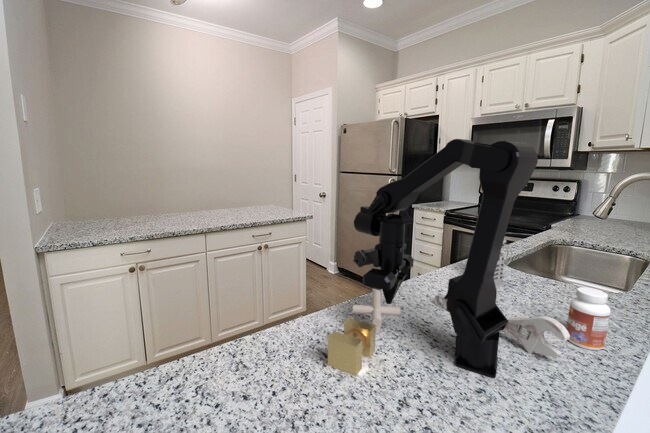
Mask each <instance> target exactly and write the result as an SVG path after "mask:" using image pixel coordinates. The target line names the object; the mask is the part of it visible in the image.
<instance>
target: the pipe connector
mask: <svg viewBox="0 0 650 433" xmlns="http://www.w3.org/2000/svg"><path fill="white" fill-rule="evenodd" d="M371 288H372V289H371V305H368V304H367V305H365V304H364V305H363V304H352V314H354V315H355V314H356V315H371V324H373V325H376V334H375V335H379V334H381V326H382V316H394V317H395V316H396V317H401V306H390V305H389V306H384V305H382V304H381V301H382V297H381V295H382V294H381V293H382V289H379V288H375V287H371Z"/></svg>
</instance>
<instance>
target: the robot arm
mask: <svg viewBox="0 0 650 433" xmlns="http://www.w3.org/2000/svg"><path fill="white" fill-rule="evenodd" d="M538 162H539V156H538V152H536V150H535V148H534V147H533V146H531V145H530V144H529V143H524V142H518V141H507V140H502V141H501V140H499V141H495V142H494V143H491V144H488V143H484V142H483V143H482V142H475V141H473V140H470V139H463V138H455V139H451V140H450V141H448V142H447V143H446V144H445V146H444V147H442V149H440V150H439V151H438V152H436V153H434V155H433V156H431V157H430V158H428V159H427V160H425V161H424V162H423V163H422V164H421V165H420V164H419V166H418V167H416V168H415V169H414V170H412V171H411V172H409V173H408V174H407V175H406V176H404V177H402V178H401V179H398V180H394V181H391V182H389V183H387V184H385V185H383V186H381V187H379V188H378V190H376V192H375V194H376V196H375V197H374V199H373V200H372V202H371V204H370V205H369V206H367V205H366V206H360V211H359V212H357V213H356V215H355V218H354V220H353V226H354V229H355V231H357V232H358V233H362V234H366V235H370V236H374V237H378V243H377V244H376V245H374V247H372V248H368V249H360V250H357V251H355V252H354V255H353V261H352V262H354V263H355V264H356V266H357V267H358V268H362V267H364V266H369V265H373V267H372V268H371V269H370V270H368V271H367V272H366V273H364V274H363V275H362V285H363V286H366V287H371V288H373V287H375V288H379V289H381V291H382V293H383V296H384V300H385V304H386V305H391V304H392V303H393V301H394V299H395V298H396V295H397V293H398V291H399V289H400V287H401V285H402V284H403V281H404V280H405V277H407V273H406V272H401V271H402V269H403V267H405V266H407V269H409V270H411V269H412V268H413V267H414V260H415V259H414V257H412V255H411V254H405V253H404V251H405V250H406V249H407V243H405V231H406V229H405V228H406V225H407V224H413V223H414V219H413V218H412V217H411V216H410V215H409V214H408V212H406V211H405V210H407V209H409V207H411V206H412V205H413V203H415V202H416V201H417V199H418V197H419V195H420V194H421V193H422V192H423V191H425V190H427V189H428V188H429V187H431V186H432V185H434V184H436V183H437V182H439V181H440V180H441V179H442V178H444V177H446V176H447V175H449V174H451V173H452V172H453V171H455V170H457V169H458V168H459V167H461V166H463V165H465V166H467V167H472V168H477V169H479V173H478V174H479V175H478V177H479V178H478V180H479V185H480V188H481V191H482V200H481V202H480V208H479V211H478V215H477V219H476V222H475V223H476V224H475V228H474V231H473V235H472V240H471V244H470V247H469V250H468V255H467V260H466V263H465V264H466V265H465V268H464V271H463V273H462V274H460V275H457V276H455V277H452V278H449V280H448V284H447V292H446V294H445V297H444V299H447V305H446V306H447V311H448V312H449V314H450V319H451V322H452V323H451V324H452V327H453V330H454V333H455V334H456V335H455V339H454V340H455V341H454V354H453V355H454V357H455V362H454V365H455V366H457V367H460V368H462V369H465V370H467V371H471V372H475V373H477V374H481V375H483V376H487V377H491V378H493V379H494V378H497V368H498V361H499V356H498V354H499V353H498V352H499V343H500V334H501V333H500V332H501V331H503V330H504V329H505V327H506V325H507V324H508V320H507V318H506V317H505V316H506V315H505V316H504V313H503V312H502V310H501V309H500V307H499V306H498V305H497V292H498V291H497V288H496V286H495V282H494V273H495V269H496V266H497V262H498V259H499V255H500V252H502V249H503V245H504V244H503V241H504V239H505V237H506V233H507V229H508V226H509V222H510V219H511V215H512V212H513V208H514V204H515V201H516V200H517V198H518V197H519V195H520V194H521V193H522V191H524V189H525V187H526V186H527V185H528V183H529V182H530V178H531V177H532V175H533V173H534V171H535V169H536V167H537V164H538ZM399 211H400V212H399ZM401 211H405V212H401ZM397 212H399V213H398V214H396V213H397ZM379 268H380V269H379Z"/></svg>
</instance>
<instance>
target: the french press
mask: <svg viewBox="0 0 650 433" xmlns="http://www.w3.org/2000/svg"><path fill="white" fill-rule="evenodd" d="M502 245H503V246H502V249H504V248H506V257H505V258H504V257H502V256H504V253H503V252H502V251H501V252H500V255H499V259H498V262H497V266H496V269H495V273H494V282H495V286H496V289H501V288H500V287H503V286H504V284H505V282H504V281H503V271H504V268H505V267H507V266H508V265H509V264H510V262H511V260H512V256H513V251H512V249H511V246H509V245H508V244H507V239H505V238H504V241H503V244H502ZM508 249H509V250H510V258H509V261H508V263H506V262H507V260H508V257H509V250H508ZM504 263H506V264H505V265H504ZM503 288H504V287H503Z"/></svg>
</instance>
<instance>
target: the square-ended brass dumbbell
mask: <svg viewBox="0 0 650 433" xmlns="http://www.w3.org/2000/svg"><path fill="white" fill-rule="evenodd" d="M376 335H377V334H376V325H373V324H372V323H369V322H366V321H362V320H359V319H356V318H353V317H349V318H348V319H347V320H345V321H344V323H343V333H342V332H339V331H336V330H334V331H333V332H332V333H331V334H330V335H328V336H327V366H328V367H331V368H334V369H336V370H338V371H341V372H343V373H346V374H349V375H351V376H353V377H357V376H358V375H359V373H360V372H361V370H363V368H362V367H363V366H362V365H363V357H366V358H368V359H370V358H371V357H372V356H373V355H374V354H375V352H376Z"/></svg>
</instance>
